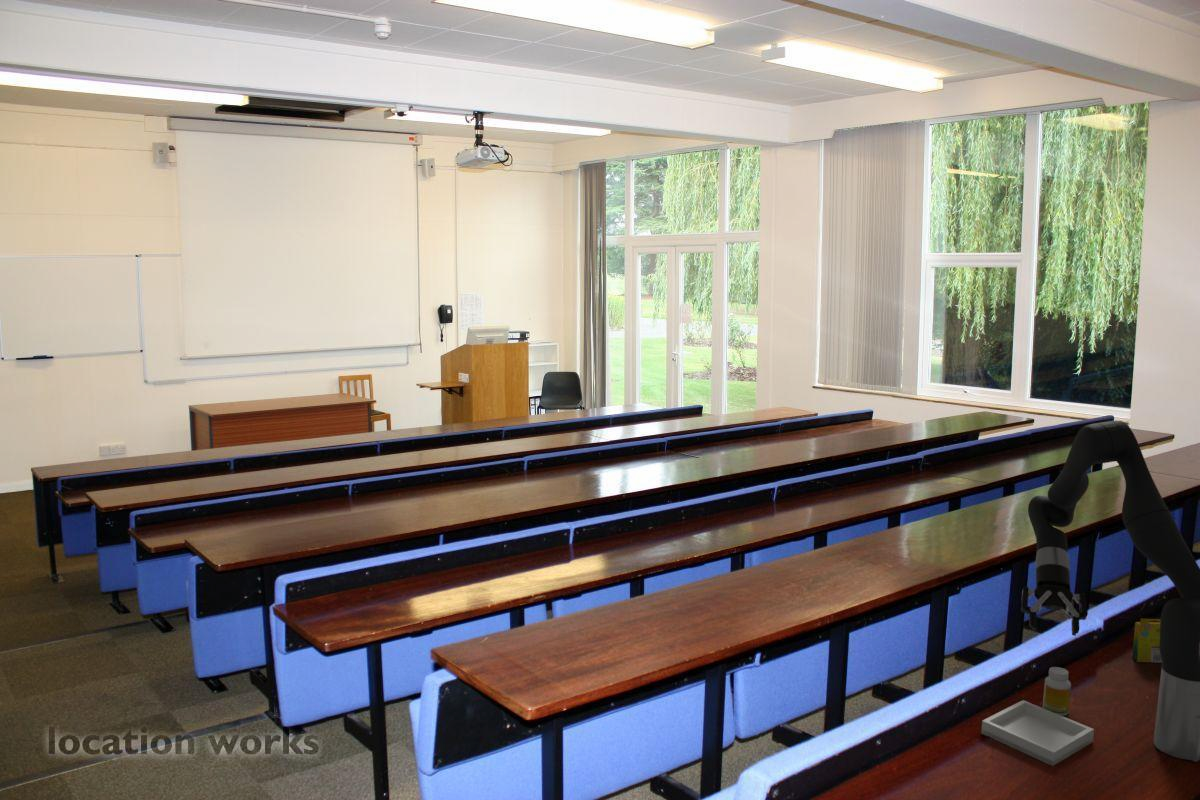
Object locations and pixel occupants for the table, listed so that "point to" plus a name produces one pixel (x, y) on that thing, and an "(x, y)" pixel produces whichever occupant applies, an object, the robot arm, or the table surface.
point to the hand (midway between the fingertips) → (1054, 631)
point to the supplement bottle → (1057, 691)
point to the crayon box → (1147, 641)
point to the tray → (1037, 732)
